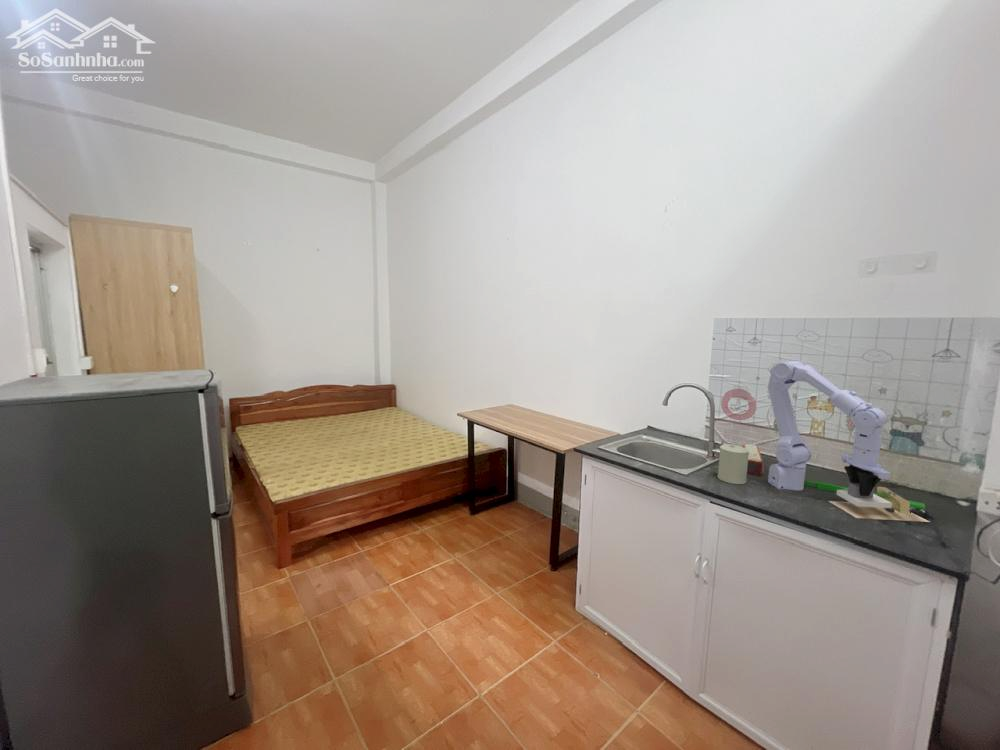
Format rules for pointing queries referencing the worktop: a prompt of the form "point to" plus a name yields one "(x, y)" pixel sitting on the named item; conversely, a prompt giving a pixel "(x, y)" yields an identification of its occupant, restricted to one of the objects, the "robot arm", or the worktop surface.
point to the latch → (894, 500)
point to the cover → (863, 497)
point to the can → (733, 464)
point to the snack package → (754, 460)
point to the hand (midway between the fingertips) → (860, 493)
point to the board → (876, 512)
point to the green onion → (834, 488)
